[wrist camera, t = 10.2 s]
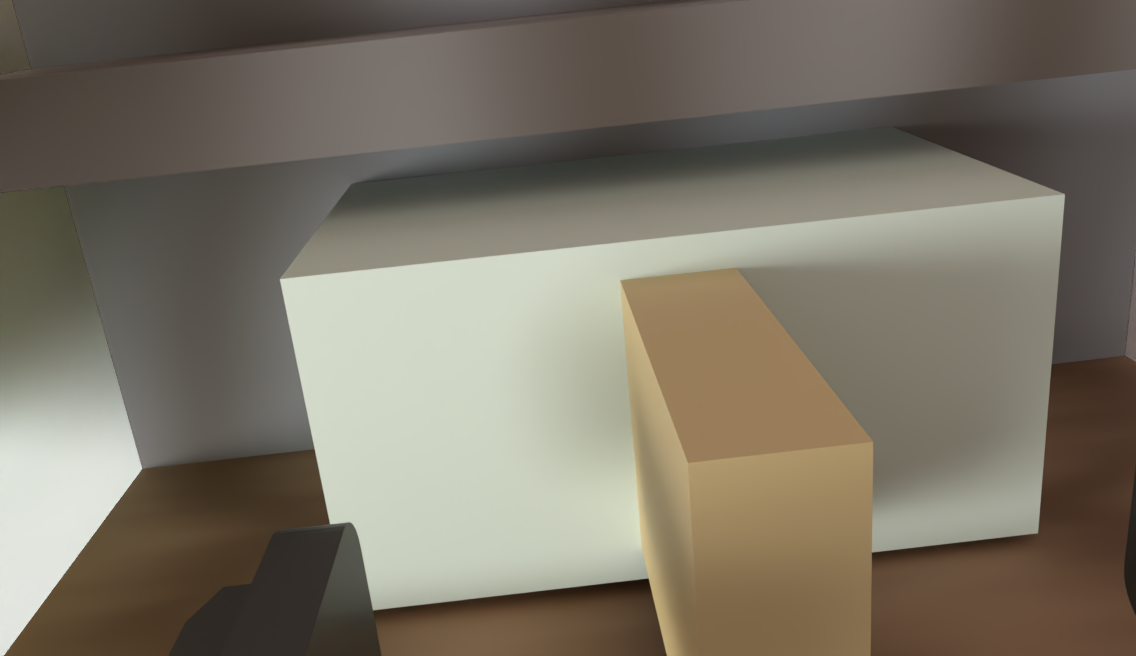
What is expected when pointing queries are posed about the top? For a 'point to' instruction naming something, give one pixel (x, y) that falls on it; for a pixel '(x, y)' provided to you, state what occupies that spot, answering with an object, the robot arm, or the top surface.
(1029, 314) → the wide pale green cuboid
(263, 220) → the board
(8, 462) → the top surface
